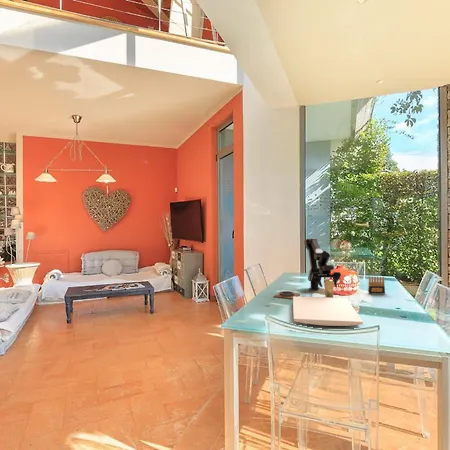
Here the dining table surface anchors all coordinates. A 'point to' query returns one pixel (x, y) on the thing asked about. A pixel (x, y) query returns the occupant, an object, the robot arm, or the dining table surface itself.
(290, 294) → the collar plate
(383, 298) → the dining table surface
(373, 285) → the ammunition clip
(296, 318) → the board
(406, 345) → the dining table surface
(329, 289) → the brass roller
